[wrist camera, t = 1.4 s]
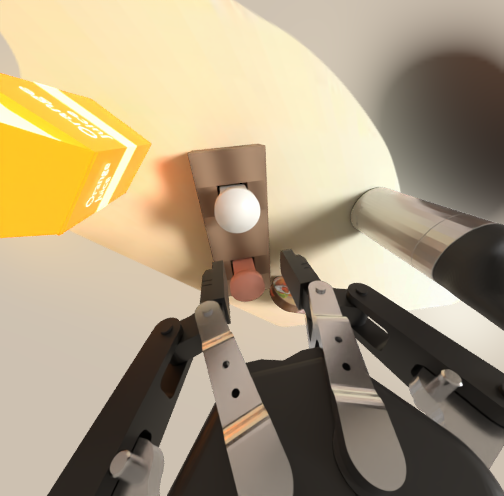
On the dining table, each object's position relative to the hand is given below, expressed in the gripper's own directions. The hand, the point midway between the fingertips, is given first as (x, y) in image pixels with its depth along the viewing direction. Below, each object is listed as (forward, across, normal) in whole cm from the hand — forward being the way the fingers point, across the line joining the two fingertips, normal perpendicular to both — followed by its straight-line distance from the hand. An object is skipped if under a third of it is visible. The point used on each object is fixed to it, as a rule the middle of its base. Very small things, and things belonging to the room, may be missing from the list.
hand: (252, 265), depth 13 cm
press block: (+21, 0, +6) cm, 22 cm away
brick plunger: (+17, 0, +13) cm, 22 cm away
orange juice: (+21, +16, -8) cm, 28 cm away
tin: (+22, -12, +24) cm, 35 cm away
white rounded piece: (+17, 0, 0) cm, 17 cm away
